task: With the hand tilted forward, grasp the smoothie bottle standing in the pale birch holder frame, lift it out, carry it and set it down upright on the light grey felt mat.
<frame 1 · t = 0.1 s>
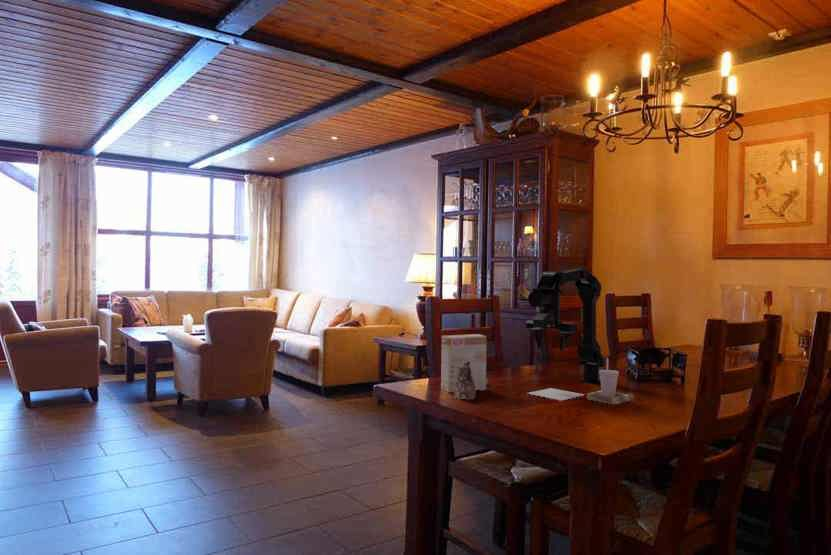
hand: (550, 349, 212), 15 cm above the table, tool pointing down, fingers open, 9 cm apart
holder: (608, 400, 198), on the table
coffeecake box: (463, 390, 212), on the table
figurine: (464, 398, 199), on the table
mat: (555, 394, 205), on the table
smoothie: (608, 400, 198), resting in holder
croissant: (465, 382, 227), on the table
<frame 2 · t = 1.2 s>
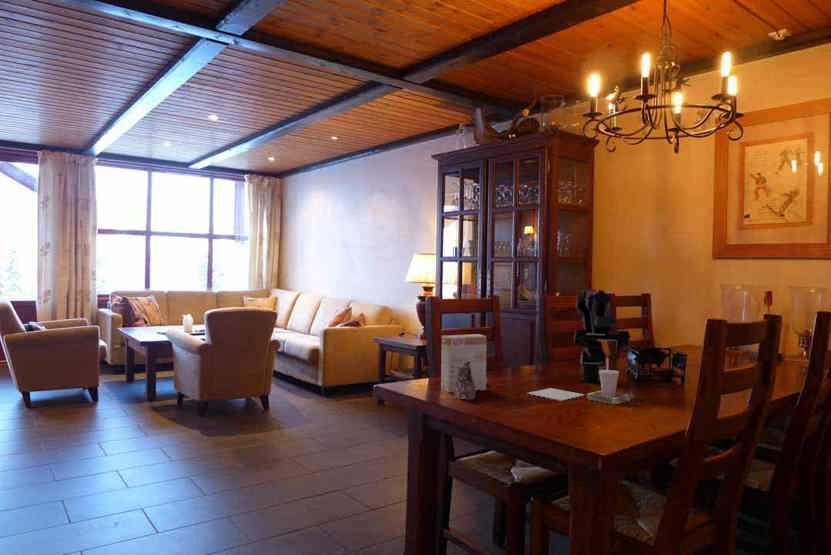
hand: (603, 356, 206), 13 cm above the table, tool tilted 45°, fingers open, 9 cm apart
nothing on the table moved.
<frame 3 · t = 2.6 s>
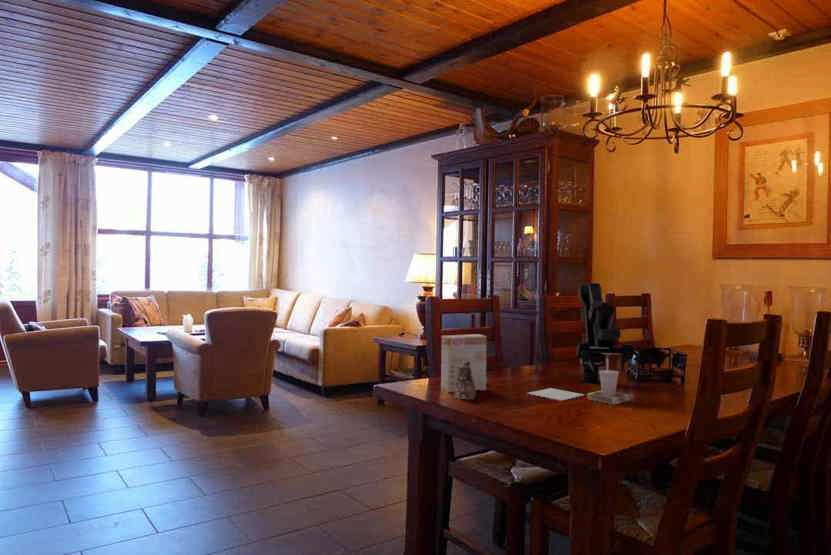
hand: (608, 370, 199), 10 cm above the table, tool tilted 45°, fingers open, 9 cm apart
nothing on the table moved.
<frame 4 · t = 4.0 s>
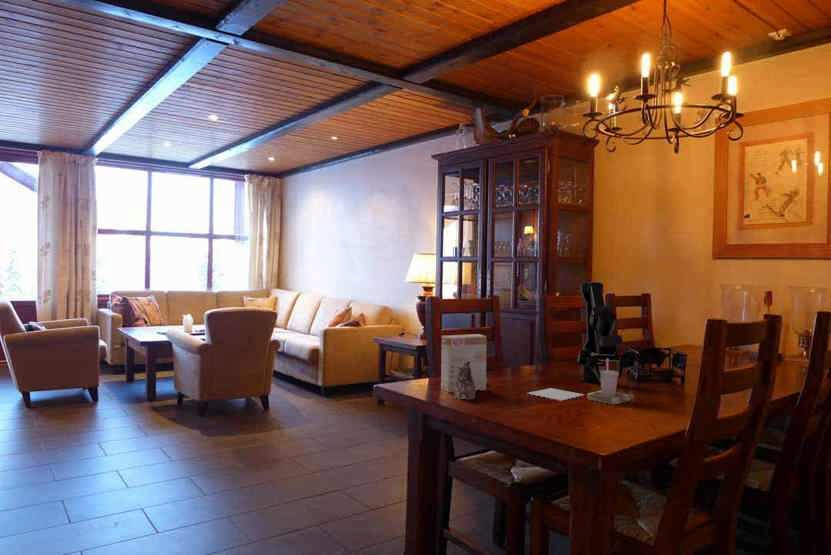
hand: (609, 378, 196), 8 cm above the table, tool tilted 45°, fingers closed on smoothie, 6 cm apart
smoothie: (608, 400, 198), resting in holder, touching gripper
everything else where it was.
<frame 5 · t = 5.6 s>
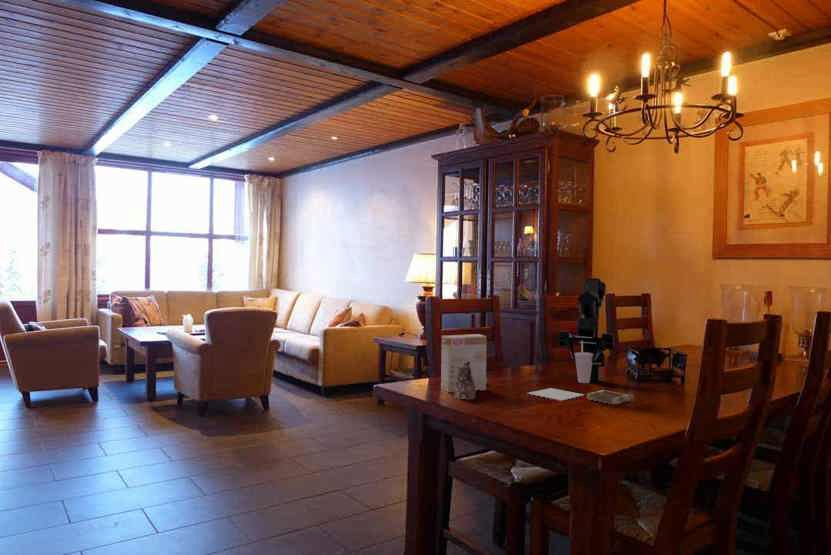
hand: (583, 359, 199), 13 cm above the table, tool tilted 45°, fingers closed on smoothie, 6 cm apart
smoothie: (584, 382, 200), point 5 cm above the table, touching gripper
everything else where it was.
when the fingers open (9 cm above the table, at t = 7.7 s): smoothie stays where it is, resting on mat.
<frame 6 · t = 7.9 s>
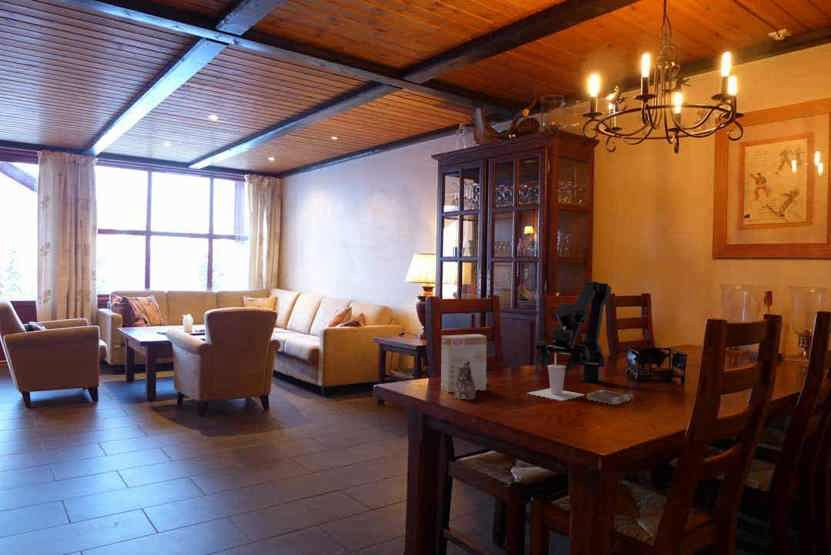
hand: (554, 369, 204), 9 cm above the table, tool tilted 45°, fingers open, 8 cm apart
smoothie: (556, 394, 205), resting on mat
everything else where it was.
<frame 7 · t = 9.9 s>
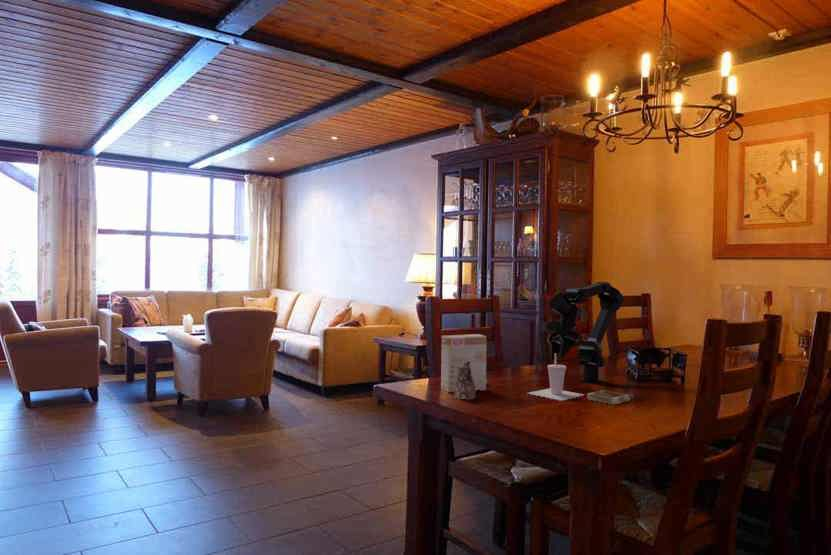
hand: (556, 359, 217), 11 cm above the table, tool tilted 25°, fingers open, 9 cm apart
nothing on the table moved.
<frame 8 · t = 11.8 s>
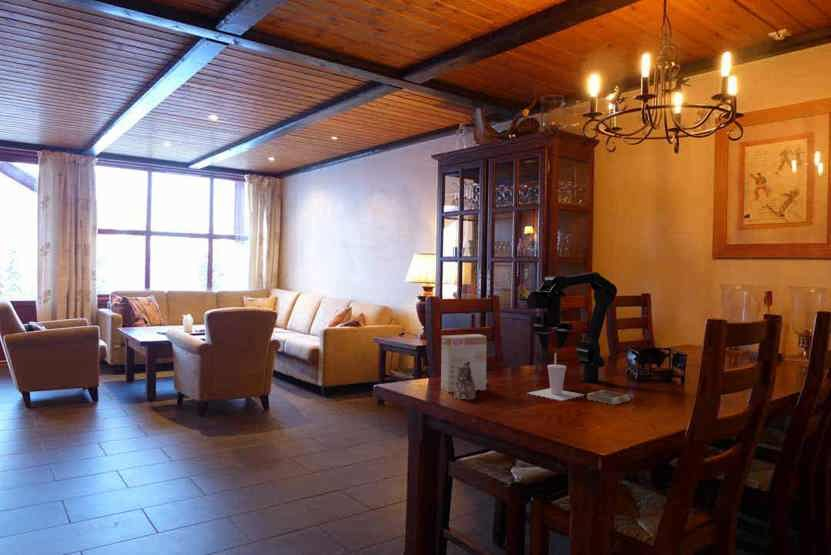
hand: (552, 350, 224), 13 cm above the table, tool pointing down, fingers open, 9 cm apart
nothing on the table moved.
at the end: smoothie 0.2 cm from the mat (horizontally); smoothie tilted 0°; smoothie resting on mat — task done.
